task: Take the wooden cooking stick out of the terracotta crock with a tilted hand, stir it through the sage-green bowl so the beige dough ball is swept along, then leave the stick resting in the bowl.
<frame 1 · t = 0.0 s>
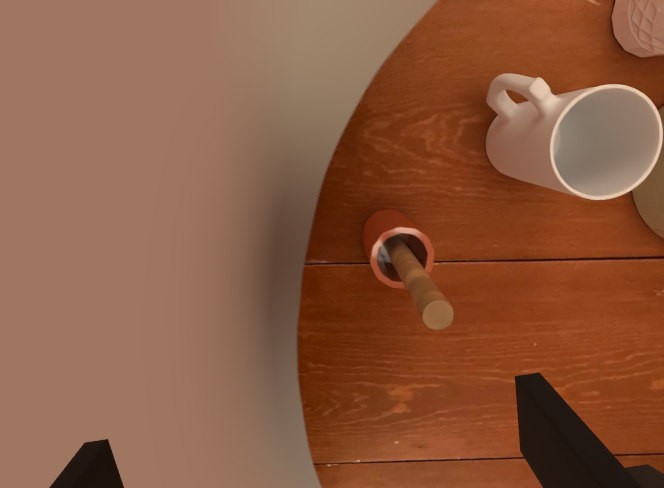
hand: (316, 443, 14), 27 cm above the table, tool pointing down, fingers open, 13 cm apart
cooking stick: (388, 235, 40), resting on crock
white cup: (650, 14, 36), on the table
crock: (387, 234, 40), on the table
mug: (506, 128, 38), on the table
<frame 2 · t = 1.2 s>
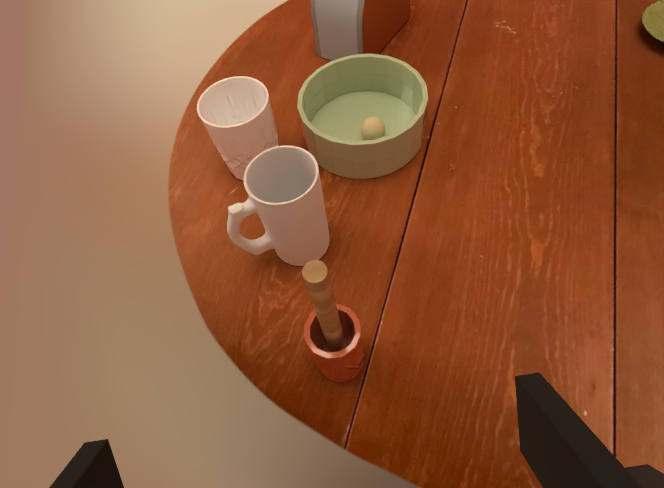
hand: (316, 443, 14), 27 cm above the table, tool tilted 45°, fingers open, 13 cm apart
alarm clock: (365, 35, 68), on the table
cooking stick: (340, 356, 42), resting on crock
white cup: (255, 162, 57), on the table
dough ball: (372, 129, 55), point 2 cm above the table, touching bowl
crock: (340, 358, 43), on the table
bowl: (363, 132, 57), on the table
mug: (289, 250, 50), on the table
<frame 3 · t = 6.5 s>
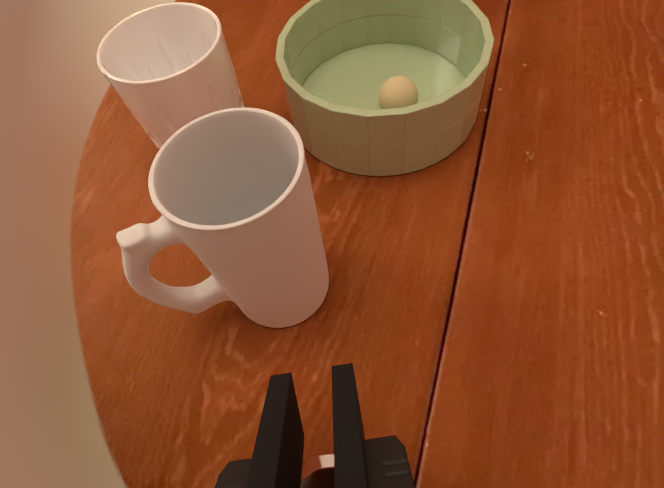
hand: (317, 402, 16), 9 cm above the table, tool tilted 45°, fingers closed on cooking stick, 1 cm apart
white cup: (213, 151, 36), on the table
dough ball: (398, 96, 34), point 2 cm above the table, touching bowl
bowl: (382, 104, 37), on the table
mug: (261, 297, 29), on the table
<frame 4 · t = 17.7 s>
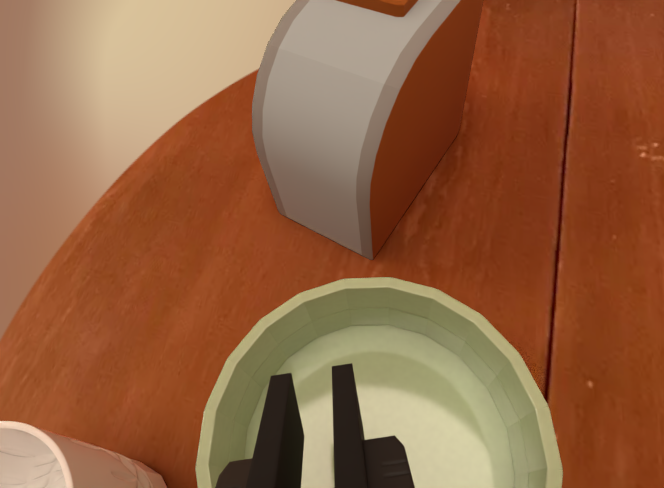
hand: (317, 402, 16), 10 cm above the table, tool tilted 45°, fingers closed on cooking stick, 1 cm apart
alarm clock: (375, 165, 35), on the table
bowl: (374, 452, 24), on the table
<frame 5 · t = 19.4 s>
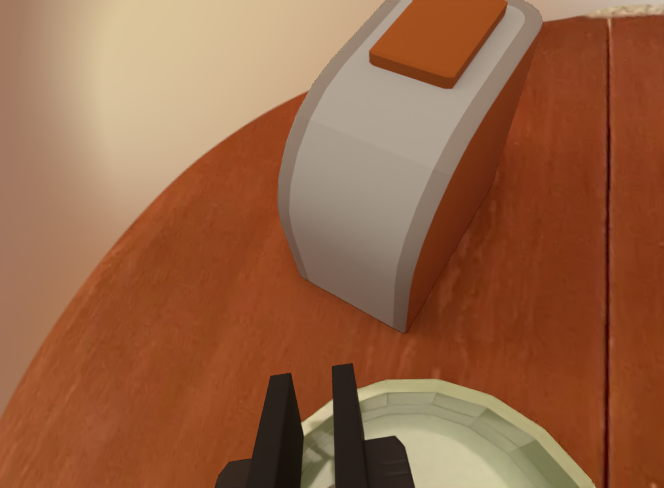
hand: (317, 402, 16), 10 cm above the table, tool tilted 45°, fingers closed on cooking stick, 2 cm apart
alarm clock: (402, 221, 32), on the table
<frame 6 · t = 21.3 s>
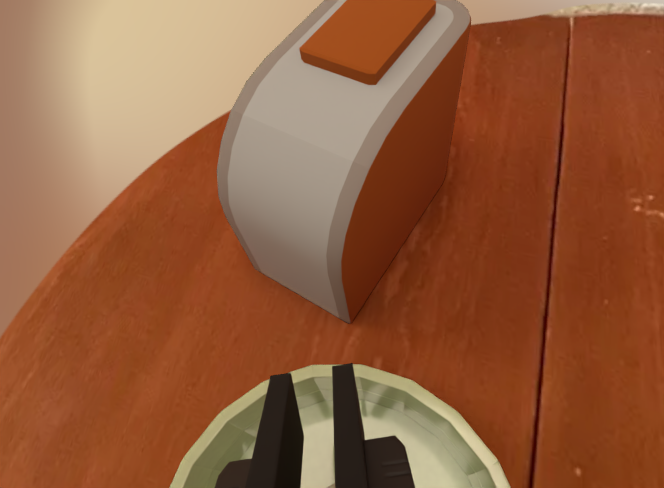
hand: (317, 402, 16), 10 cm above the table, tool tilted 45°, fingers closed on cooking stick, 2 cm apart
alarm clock: (356, 215, 33), on the table
when the fingers open (9 cm above the table, at t = 22.2 s): cooking stick stays where it is, resting on bowl.
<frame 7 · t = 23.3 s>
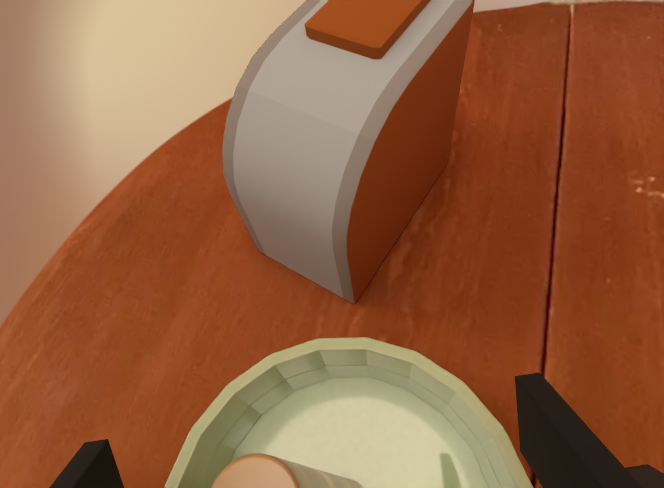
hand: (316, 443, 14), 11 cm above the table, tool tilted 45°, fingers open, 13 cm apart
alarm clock: (359, 199, 33), on the table
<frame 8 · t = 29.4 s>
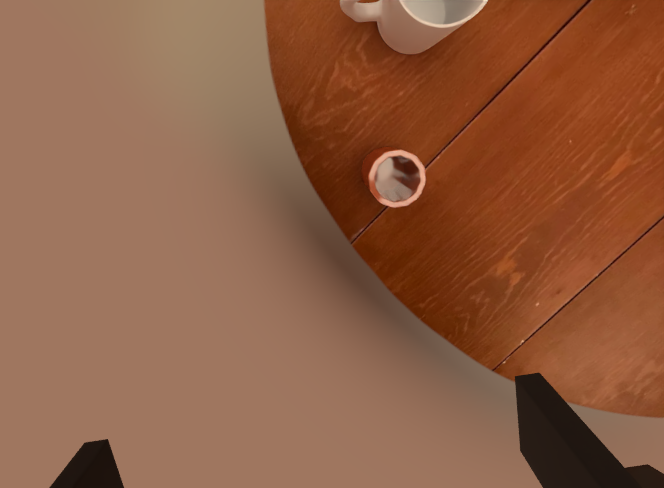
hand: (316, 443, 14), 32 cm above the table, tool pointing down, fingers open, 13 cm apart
crock: (384, 171, 44), on the table
mug: (392, 20, 41), on the table
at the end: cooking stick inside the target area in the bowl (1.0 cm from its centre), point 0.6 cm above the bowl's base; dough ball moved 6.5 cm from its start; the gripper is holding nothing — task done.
